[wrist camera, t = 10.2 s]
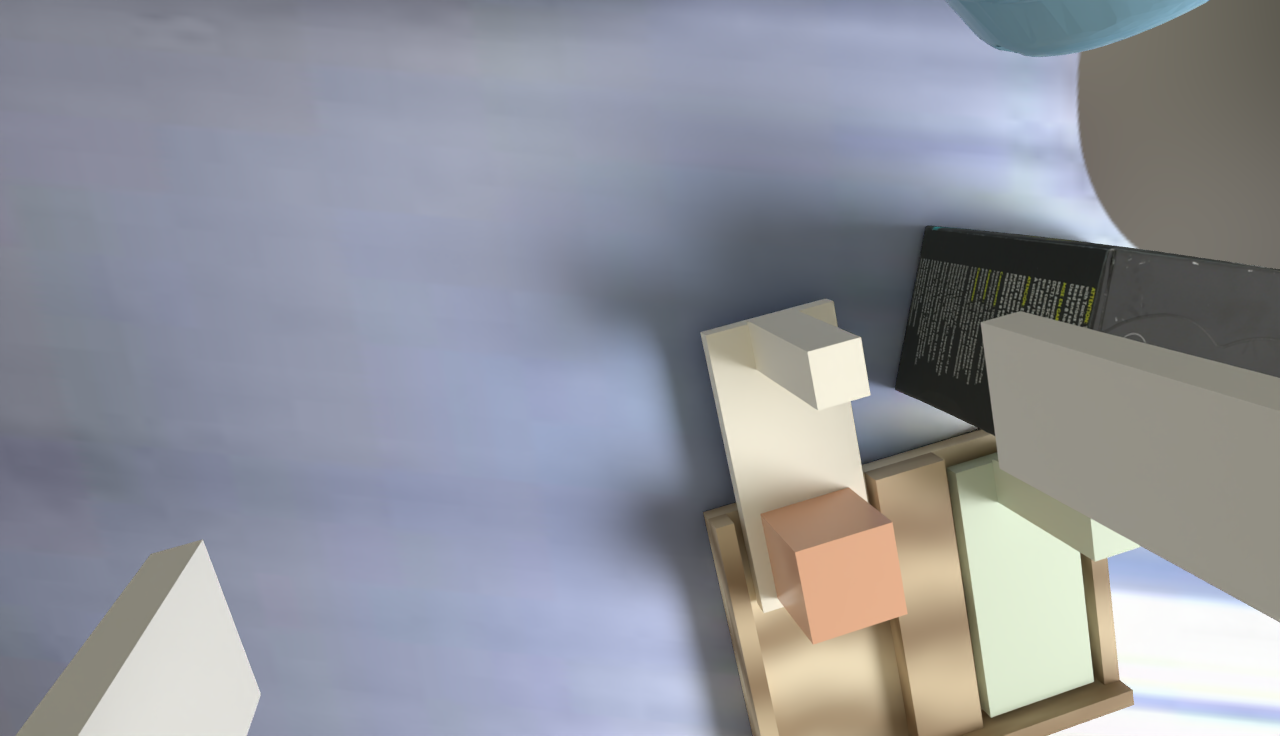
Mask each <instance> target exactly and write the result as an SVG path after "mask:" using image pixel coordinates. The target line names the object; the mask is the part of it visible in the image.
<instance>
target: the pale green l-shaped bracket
mask: <svg viewBox="0 0 1280 736" xmlns="http://www.w3.org/2000/svg"><path fill="white" fill-rule="evenodd" d="M946 469H947V475H948V482H949V489H950V496H951V503H952V510H953V516H954V523H955V530H956V537H957V544H958V551H959V558H960V564H961V571H962V578H963V585H964V592H965V599H966V606H967V612H968V619H969V626H970V633H971V640H972V647H973V654H974V660H975V667H976V674H977V681H978V688H979V695H980V701H981V708H982V709H983V710H984V711H985V712H986V713H987V714H988V715H989V716H990V717H991V718H992V717H995V716H997V715H1000V714H1003V713H1006V712H1009V711H1012V710H1015V709H1017V708H1020V707H1023V706H1026V705H1029V704H1032V703H1035V702H1038V701H1040V700H1043V699H1046V698H1049V697H1052V696H1055V695H1058V694H1061V693H1063V692H1066V691H1069V690H1072V689H1075V688H1078V687H1081V686H1084V685H1086V684H1089V683H1092V682H1094V677H1093V668H1092V659H1091V650H1090V640H1089V631H1088V622H1087V613H1086V604H1085V594H1084V585H1083V576H1082V567H1081V558H1080V553H1082V554H1083V555H1085V556H1087V557H1088V558H1090V559H1092V560H1093V561H1095V562H1096V561H1099V560H1102V559H1105V558H1108V557H1111V556H1114V555H1117V554H1120V553H1123V552H1126V551H1129V550H1132V549H1135V548H1138V547H1140V545H1138V544H1136V543H1134V542H1133V541H1131V540H1129V539H1127V538H1125V537H1124V536H1122V535H1120V534H1118V533H1116V532H1114V531H1113V530H1111V529H1109V528H1107V527H1105V526H1103V525H1102V524H1100V523H1098V522H1096V521H1094V520H1093V519H1091V518H1089V517H1087V516H1085V515H1083V514H1082V513H1080V512H1078V511H1076V510H1074V509H1073V508H1071V507H1069V506H1067V505H1065V504H1063V503H1062V502H1060V501H1058V500H1056V499H1054V498H1052V497H1051V496H1049V495H1047V494H1045V493H1043V492H1042V491H1040V490H1038V489H1036V488H1034V487H1032V486H1031V485H1029V484H1027V483H1025V482H1023V481H1022V480H1020V479H1018V478H1016V477H1014V476H1012V475H1011V474H1009V473H1007V472H1005V471H1003V470H1001V469H1000V468H999V460H998V453H997V452H996V453H993V454H989V455H986V456H983V457H980V458H976V459H973V460H970V461H966V462H963V463H960V464H956V465H953V466H950V467H947V468H946Z"/></svg>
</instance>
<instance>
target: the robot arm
mask: <svg viewBox="0 0 1280 736" xmlns="http://www.w3.org/2000/svg"><path fill="white" fill-rule="evenodd" d="M945 1H946V2H947V3H948V5H949V6H950V7H951V8H952V9H953V10H954V11H955V12H956V13H957V15H958V16H959V17H960V18H961V19H962V20H963V21H964V22H965V24H966V25H967V26H968V27H969V28H970V29H971V30H972V31H973V32H974V34H975V35H977V36H978V37H979V38H980V39H981V40H983V41H984V42H986V43H987V44H989V45H990V46H992V47H994V48H996V49H998V50H1004V51H1010V52H1014V53H1019V54H1022V55H1024V56H1031V57H1046V56H1059V55H1066V54H1072V53H1077V52H1082V51H1086V50H1091V49H1095V48H1098V47H1102V46H1105V45H1108V44H1111V43H1114V42H1117V41H1120V40H1123V39H1126V38H1128V37H1131V36H1134V35H1137V34H1139V33H1141V32H1144V31H1146V30H1149V29H1151V28H1154V27H1156V26H1159V25H1161V24H1163V23H1165V22H1167V21H1170V20H1172V19H1174V18H1176V17H1178V16H1180V15H1182V14H1184V13H1186V12H1189V11H1190V10H1192V9H1194V8H1196V7H1198V6H1200V5H1202V4H1204V3H1205V2H1207V1H1209V0H945ZM981 330H982V337H983V345H984V353H985V360H986V368H987V376H988V383H989V391H990V399H991V406H992V414H993V422H994V429H995V437H996V445H997V453H998V460H999V468H1000V469H1001V470H1003V471H1005V472H1007V473H1009V474H1011V475H1012V476H1014V477H1016V478H1018V479H1020V480H1022V481H1023V482H1025V483H1027V484H1029V485H1031V486H1032V487H1034V488H1036V489H1038V490H1040V491H1042V492H1043V493H1045V494H1047V495H1049V496H1051V497H1052V498H1054V499H1056V500H1058V501H1060V502H1062V503H1063V504H1065V505H1067V506H1069V507H1071V508H1073V509H1074V510H1076V511H1078V512H1080V513H1082V514H1083V515H1085V516H1087V517H1089V518H1091V519H1093V520H1094V521H1096V522H1098V523H1100V524H1102V525H1103V526H1105V527H1107V528H1109V529H1111V530H1113V531H1114V532H1116V533H1118V534H1120V535H1122V536H1124V537H1125V538H1127V539H1129V540H1131V541H1133V542H1134V543H1136V544H1138V545H1140V546H1142V547H1144V548H1145V549H1147V550H1149V551H1151V552H1153V553H1154V554H1156V555H1158V556H1160V557H1162V558H1164V559H1165V560H1167V561H1169V562H1171V563H1173V564H1175V565H1176V566H1178V567H1180V568H1182V569H1184V570H1185V571H1187V572H1189V573H1191V574H1193V575H1195V576H1196V577H1198V578H1200V579H1202V580H1204V581H1205V582H1207V583H1209V584H1211V585H1213V586H1215V587H1216V588H1218V589H1220V590H1222V591H1224V592H1226V593H1227V594H1229V595H1231V596H1233V597H1235V598H1236V599H1238V600H1240V601H1242V602H1244V603H1246V604H1247V605H1249V606H1251V607H1253V608H1255V609H1256V610H1258V611H1260V612H1262V613H1264V614H1266V615H1267V616H1269V617H1271V618H1273V619H1275V620H1277V621H1278V622H1280V378H1278V377H1274V376H1270V375H1266V374H1263V373H1259V372H1255V371H1251V370H1247V369H1243V368H1239V367H1235V366H1231V365H1228V364H1224V363H1220V362H1216V361H1212V360H1208V359H1204V358H1200V357H1196V356H1193V355H1189V354H1185V353H1181V352H1177V351H1173V350H1169V349H1165V348H1161V347H1158V346H1154V345H1150V344H1146V343H1142V342H1138V341H1134V340H1130V339H1126V338H1123V337H1119V336H1115V335H1111V334H1107V333H1103V332H1099V331H1095V330H1091V329H1088V328H1084V327H1080V326H1076V325H1072V324H1068V323H1064V322H1060V321H1056V320H1053V319H1049V318H1045V317H1041V316H1037V315H1033V314H1029V313H1025V312H1021V311H1019V312H1016V313H1012V314H1008V315H1005V316H1001V317H998V318H994V319H991V320H987V321H983V322H981ZM260 695H261V693H260V691H259V688H258V685H257V683H256V680H255V677H254V675H253V672H252V669H251V667H250V664H249V661H248V659H247V656H246V653H245V651H244V648H243V645H242V643H241V640H240V637H239V635H238V632H237V629H236V627H235V624H234V621H233V619H232V616H231V614H230V611H229V608H228V606H227V603H226V600H225V598H224V595H223V592H222V590H221V587H220V584H219V582H218V579H217V576H216V574H215V571H214V568H213V566H212V563H211V560H210V558H209V555H208V552H207V550H206V547H205V544H204V542H203V540H200V541H196V542H192V543H189V544H185V545H182V546H178V547H174V548H171V549H167V550H164V551H160V552H157V553H153V554H151V555H150V556H149V557H148V559H147V560H146V561H145V563H144V564H143V565H142V567H141V568H140V569H139V571H138V572H137V573H136V575H135V576H134V577H133V579H132V580H131V581H130V583H129V584H128V585H127V587H126V588H125V589H124V591H123V592H122V594H121V595H120V596H119V598H118V599H117V600H116V602H115V603H114V604H113V606H112V607H111V608H110V610H109V611H108V612H107V614H106V615H105V616H104V618H103V619H102V620H101V622H100V623H99V624H98V626H97V627H96V628H95V630H94V631H93V632H92V634H91V635H90V636H89V638H88V639H87V640H86V642H85V643H84V645H83V646H82V647H81V649H80V650H79V651H78V653H77V654H76V655H75V657H74V658H73V659H72V661H71V662H70V663H69V665H68V666H67V667H66V669H65V670H64V671H63V673H62V674H61V675H60V677H59V678H58V679H57V681H56V682H55V683H54V685H53V686H52V687H51V689H50V690H49V692H48V693H47V694H46V696H45V697H44V698H43V700H42V701H41V702H40V704H39V705H38V706H37V708H36V709H35V710H34V712H33V713H32V714H31V716H30V717H29V718H28V720H27V721H26V722H25V724H24V725H23V726H22V728H21V729H20V730H19V732H18V733H17V734H16V736H247V733H248V730H249V727H250V724H251V722H252V719H253V716H254V713H255V710H256V707H257V704H258V701H259V698H260Z"/></svg>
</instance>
